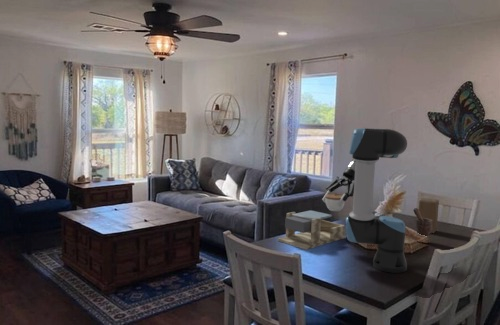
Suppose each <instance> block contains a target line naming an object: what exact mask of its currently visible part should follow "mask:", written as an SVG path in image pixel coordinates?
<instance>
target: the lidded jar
mask: <svg viewBox="0 0 500 325" xmlns="http://www.w3.org/2000/svg"><path fill="white" fill-rule="evenodd" d="M324 196H325V202H324V203H325V206H326V208H327V209H328V210H329V211H331V212H340V211H341V210H342V209H343V208H344V207H345V205H346V201H344V203H343V204H342V206H341V207H340V206H339V205H338V202H339V200H340V199H341V197H342V196H343V194H339V193H337V192H334V193H332V194H327V195H325V194H324Z"/></svg>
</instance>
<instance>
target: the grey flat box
mask: <svg viewBox="0 0 500 325" xmlns="http://www.w3.org/2000/svg"><path fill="white" fill-rule="evenodd" d="M332 217H333V215H332V214H329V213H324V212H320V211H316V210H311V209H310V210H306V211H302V212H297V213H296V214H293V213H292V217H288V218H286V217H284V218H285V219H284V221H285V222H284V228H285V229H286V228H287V229H291V230H294V231H295V232H298V233H305V232H309V231H311V224H312V219H315V218H321V220H325V219H328V218H332Z"/></svg>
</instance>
